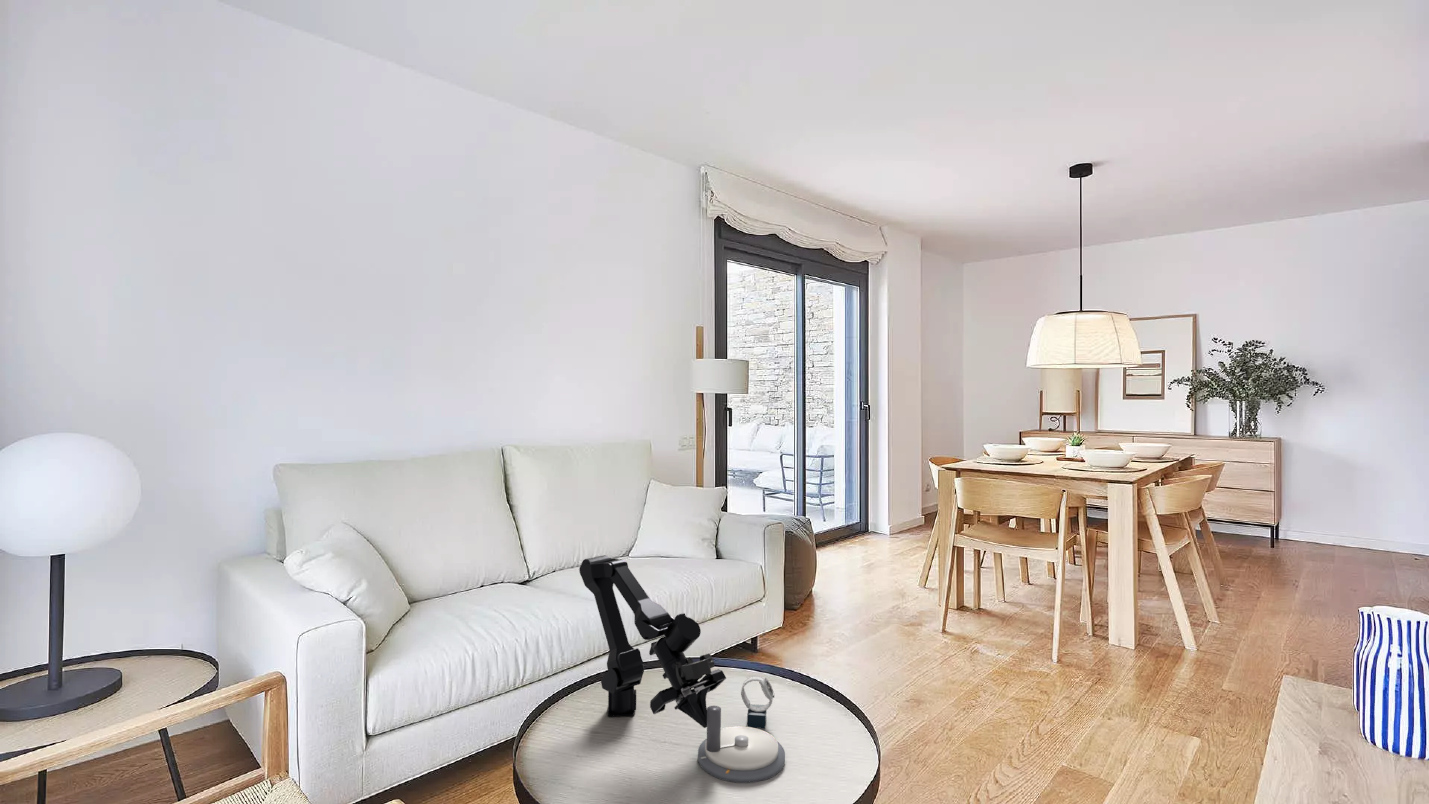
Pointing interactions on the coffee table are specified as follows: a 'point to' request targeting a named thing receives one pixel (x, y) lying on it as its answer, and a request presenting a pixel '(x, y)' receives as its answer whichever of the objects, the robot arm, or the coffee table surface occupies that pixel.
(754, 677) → the watch
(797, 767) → the coffee table surface
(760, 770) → the dial base
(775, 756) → the dial
